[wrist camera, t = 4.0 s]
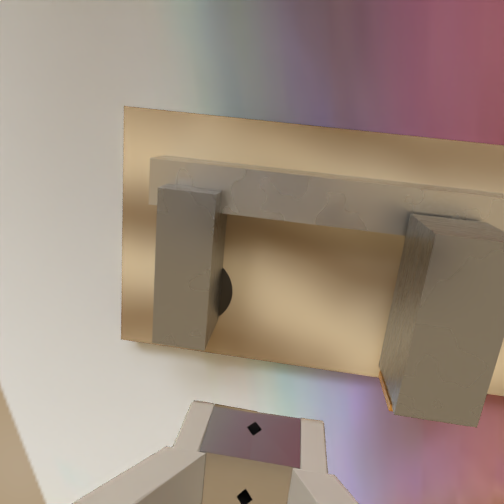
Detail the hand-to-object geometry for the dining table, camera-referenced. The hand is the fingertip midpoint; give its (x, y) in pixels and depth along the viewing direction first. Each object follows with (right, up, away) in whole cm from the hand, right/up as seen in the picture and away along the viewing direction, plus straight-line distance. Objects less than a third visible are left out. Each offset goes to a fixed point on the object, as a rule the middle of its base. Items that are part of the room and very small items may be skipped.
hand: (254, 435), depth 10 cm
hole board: (+6, +4, +12) cm, 14 cm away
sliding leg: (+8, +3, +10) cm, 13 cm away
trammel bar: (+6, +4, +11) cm, 13 cm away
